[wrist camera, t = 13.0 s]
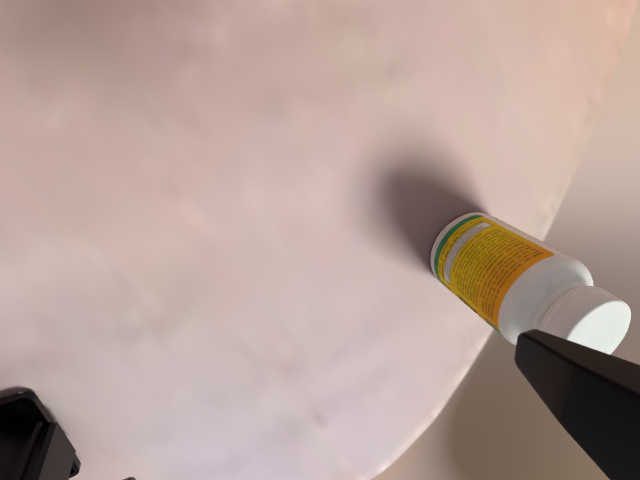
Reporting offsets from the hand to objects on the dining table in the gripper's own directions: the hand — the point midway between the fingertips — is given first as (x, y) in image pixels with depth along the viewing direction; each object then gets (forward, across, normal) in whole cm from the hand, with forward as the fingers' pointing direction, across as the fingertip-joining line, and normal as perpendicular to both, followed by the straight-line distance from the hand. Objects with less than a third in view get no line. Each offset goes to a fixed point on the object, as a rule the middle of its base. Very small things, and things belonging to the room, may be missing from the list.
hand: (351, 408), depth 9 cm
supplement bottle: (+13, -13, +6) cm, 19 cm away
